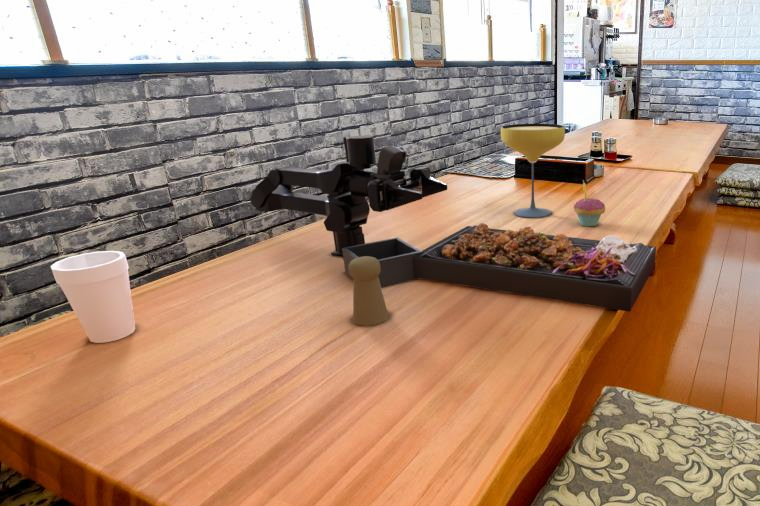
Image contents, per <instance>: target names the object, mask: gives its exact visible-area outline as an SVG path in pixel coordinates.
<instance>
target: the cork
mask: <svg viewBox="0 0 760 506" xmlns="http://www.w3.org/2000/svg"><path fill="white" fill-rule="evenodd" d="M380 270H381V268H380V263H379V261H378V260H377V259H376V258H374V257H370V256H364V257H358V258H355V259H353V260H352V261H351V262H350V264H349V273H350V276H351V277H352V278H353V279H354V280H353V279H352V278H351V277H350V276H349V277H350V278H351V279H352V280H353V285H352V286H353V289H352V293H353V294H352V296H353V297H352V302H353V303H352V305H353V306H352V321H353V323H354V324H355V325H358V326H363V327H370V326H376V325H380V324H382V323H384V322H385V321H387V320H388V319H389V312H388V308H387V304H386V301H385V296H384V292H383V289H382V287H381V285H380V281H379V277H378V275H379V274H380Z"/></svg>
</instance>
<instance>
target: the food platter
mask: <svg viewBox="0 0 760 506" xmlns="http://www.w3.org/2000/svg"><path fill="white" fill-rule="evenodd" d="M421 251H423V254H422V255H420V257H417V256H413V257H412V263H413V274H414V278H418V279H422V280H428V281H432V282H433V281H434V282H441V283H446V284H453V285H458V286H459V285H460V286H466V287H471V288H478V289H483V290H489V291H490V290H491V291H496V292H503V293H510V294H516V295H522V296H528V297H535V298H540V299H547V300H554V301H559V302H560V301H561V302H567V303H572V304H579V305H585V306H590V307H598V308H604V309H609V310H616V311H622V312H629V313H631V311H632V309H633V307H634V306H635V303H636V302H637V300H638V298H639V296H640V294H641V292H642V291H643V289H644V288H645V285H646V283H647V281H648V280H649V278H650V276H651V274H652V272H653V270H654V268H655V265H656V255H657V247H656V246H653V245H646V244H644V243H642V242H638V243H631V242H627V241H625V240H623V239H621V237H620V236H615V235H612V234H609V235H605V236H604V237H603V238H602V239H599V240H598V239H588V238H580V237H571V236H566V234H562V233H560V234H556V235H554V234H545V233H543V231H539V232H535V230H534V229H533V228H532V227H531V226H525V227H521V228H519V230H513V229H499V228H490V227H489V226H488V224H487V223H484V222H481V223H479V224H477V225H476V224H475V225H473V226H471V225H467V226H465V227H463V228H461V229H459V230H457V231H455V232H454V233H452V234H450V235H447V236H446V237H444V238H442V239H441V240H439V241H437V242H435V243H433V244H432V245H429V246H427V247H425V248H424V249H422V250H421Z"/></svg>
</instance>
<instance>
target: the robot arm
mask: <svg viewBox="0 0 760 506" xmlns="http://www.w3.org/2000/svg"><path fill="white" fill-rule="evenodd" d="M342 139H343V145H344V152H345V160H346V161H345V162H342V163H338V164H336V166H335V167H333V168H329V169H314V168H305V167H293V166H289V165H284V166H279V167H274V168H272V169H271V170H269V172H268V174H267V176H266V177H265V178H264V179H262V180H261V181H260V182H259V183H258V184H257V185H256V186H255V187H254V189H252V190H251V195H250V197H249V198H250V203H251V205H252V206H253V207H254V208H255V210H256V211H258V212H260V213H264V212H265V213H267V212H274V211H279V210H286V211H294V212H299V213H306V214H312V215H317V216H324V217H326V218H325V220H323V225H324V227H325V230H326V231H327V232H332V235H333V242H334V249H335V250H332V251H331V252H330V254H331V255H334V256H341V257H343V252H342V248H345V247H350V246H355V245H361V244H366V240H365V234H364V233H363V227H362V226H363V225H367V223H368V217H369V215H370V209H371V210H372V211H373V212H377V213H382V212H385V211H389V210H392V209H396V208H399V207H402V206H405V205H408V204H411V203H415V202H417V201H421V200H423V198H426V197H429V196H433V195H435V194H439V193H442V192H446V191H447V190H448V185H447V184H446V183H444V182H442V181H440V180H438V179H436V178H434V177H432V176H431V169H430V167H429V166H420V167H415V168H413V169H412V170H411V171H410V172H409V178H410V180H409V181H407V179H406V178H405V177H406V171H405V170H403V164H405V163H406V158H407V156H408V155H407V151H405V150H404V147H402V146H399V147H398V146H395V145H389V146H384V147H382V148H381V149H380V150H379V155H378V159H377V157H376V147H375V138H374V135H370V134H364V135H356V136H355V135H354V136H344V137H342ZM376 164H377V165H376ZM373 165H376V167H377V169H376V171H372V170H367V169H372V168H373ZM293 186H294V187H302V188H312V189H313V188H314V189H317V190H319V191H320V192H321V193H323V194H325V196H323V195H318V194H309V193H303V192H302V193H301V192H295V191H293V190H294V187H293ZM367 198H368V200H367Z"/></svg>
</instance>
